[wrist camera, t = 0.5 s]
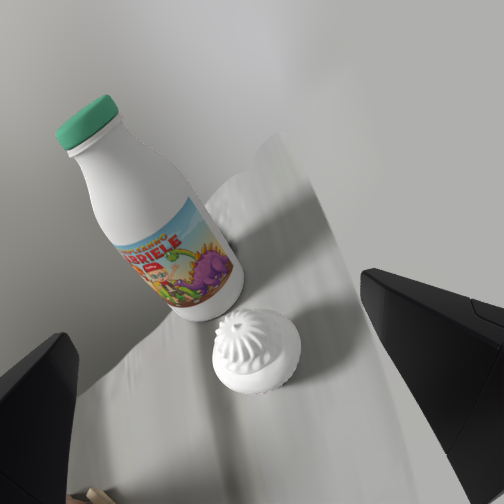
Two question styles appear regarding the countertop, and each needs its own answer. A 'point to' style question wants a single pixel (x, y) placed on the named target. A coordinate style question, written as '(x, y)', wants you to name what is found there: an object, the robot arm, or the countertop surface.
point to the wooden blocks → (97, 497)
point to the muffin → (256, 350)
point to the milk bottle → (152, 214)
